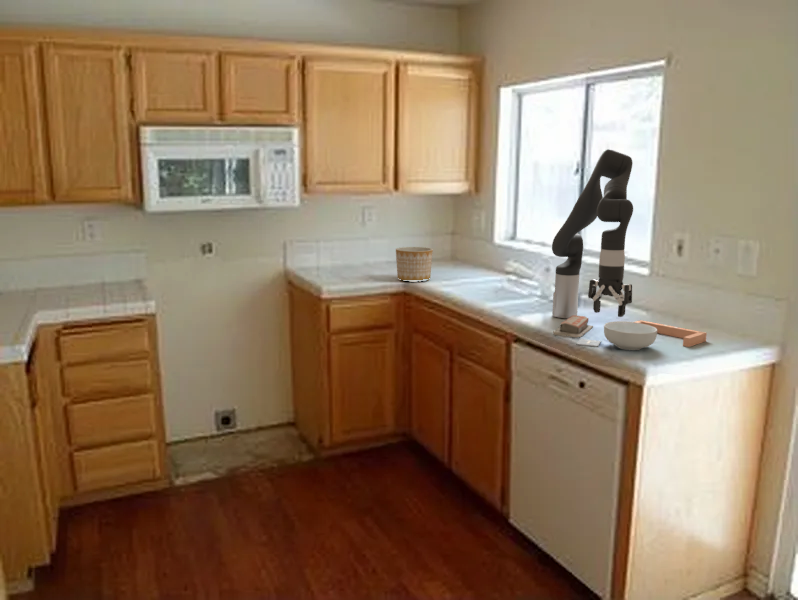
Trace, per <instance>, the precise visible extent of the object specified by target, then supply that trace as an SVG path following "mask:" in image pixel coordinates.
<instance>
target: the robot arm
mask: <svg viewBox="0 0 798 600" xmlns="http://www.w3.org/2000/svg"><path fill="white" fill-rule="evenodd" d="M632 169H633V158H632V157H631V156H629V155H627V154H625V153H622V152H620V151H617V150H614V149H610V148H608V149H605V150H604V151H603V152H602V153H601V154H600V156H599V158H598V160H597V162H596V164H595V166H594V168H593V171H592V173H591V175H590V177H589V179H588V182H587V183H586V185H585V186H584V189H583V190H582V191H581V193H580V194H579V196H578V198H577V199H576V202H575V204H574V206H573V208H572V210H571V211H570V213H569V215H568V217H567V218H566V220H565V222H564V223H563V225H562V226H561V228H560V229H559V230H558V231H557V233H556V235H555V236H554V238H553V240H552V243H551V252H552V253H553V255H554V256H556V257H559V258H567V259H566V260H565V261H564V262H563V263H561V264H558V265H557V266H556V267H555V278H554V279H555V280H554V292H553V294H552V310H551V311H552V315H551V316H552V317H555V318H558V319H568V318H570V317H571V316H573V315H576V316H578V310H579V309H578V308H579V307H578V305H579V290H580V289H579V288H580V286H579V285H580V271H581V268H582V263H583V254H584V253H583V252H584V239H583V237H582V235H581V234H580V233H579V232H581V231H582V230H584V229H585V228H587V227H589V226H590V225H591V224H592V223H593V222H594V221H596V219H597V218H598V220H599V221H601V222H603V223H619V225H618V226H617V227H614V228H612V229H607V230H604V231H602V232H601V239H600V253H599V261H598V262H599V263H598V279H595V278H594V279H591V280H589V283H588V285H589V286H588V293H587V294H588V295H587V298H588V299H591V300H592V301H593V308H592V309H593V311H594V313H598V314H599V313H600V312H601V299H602V297H604V296H609V297H613V298H614V299H615V300H616V301H617V303H618V306H617V317H619V318H622V317H624V315H625V314H626V306H627V305H628V304H629V305H630V304H632V302H633V284H631V283H628V284H624V282H623V281H624V277H625V276H624V275H625V260H626V259H625V258H626V255H625V246H626V245H625V243H626V235H627V230H628V227H629V224H630V222H631V219H632V216H633V213H634V206H633V203H632V202H631V200H630V199H627V198H628V197H627V196H628V193H627V192H628V190H627V188H628V185H629V181H630V177H631V173H632ZM602 177H604V178H607V179H609V181H608V182H607V183H606V184H605V186H604V189H603V192H602V187H601V178H602ZM597 287H599V289H598V290H597ZM622 290H623V291H624V293H623V291H622Z"/></svg>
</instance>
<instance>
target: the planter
mask: <svg viewBox="0 0 798 600" xmlns="http://www.w3.org/2000/svg"><path fill="white" fill-rule="evenodd" d="M433 251H434V249H433V248H431V247H424V246H402V247H397V248H395V259H396V272H397V273H396V276H397V279H398V278H399V279H401V280H423V279H429V278H430V279H431V275H432V264H433V263H432V261H433V253H434V252H433ZM399 279H398V280H399ZM430 279H429V280H430Z"/></svg>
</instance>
